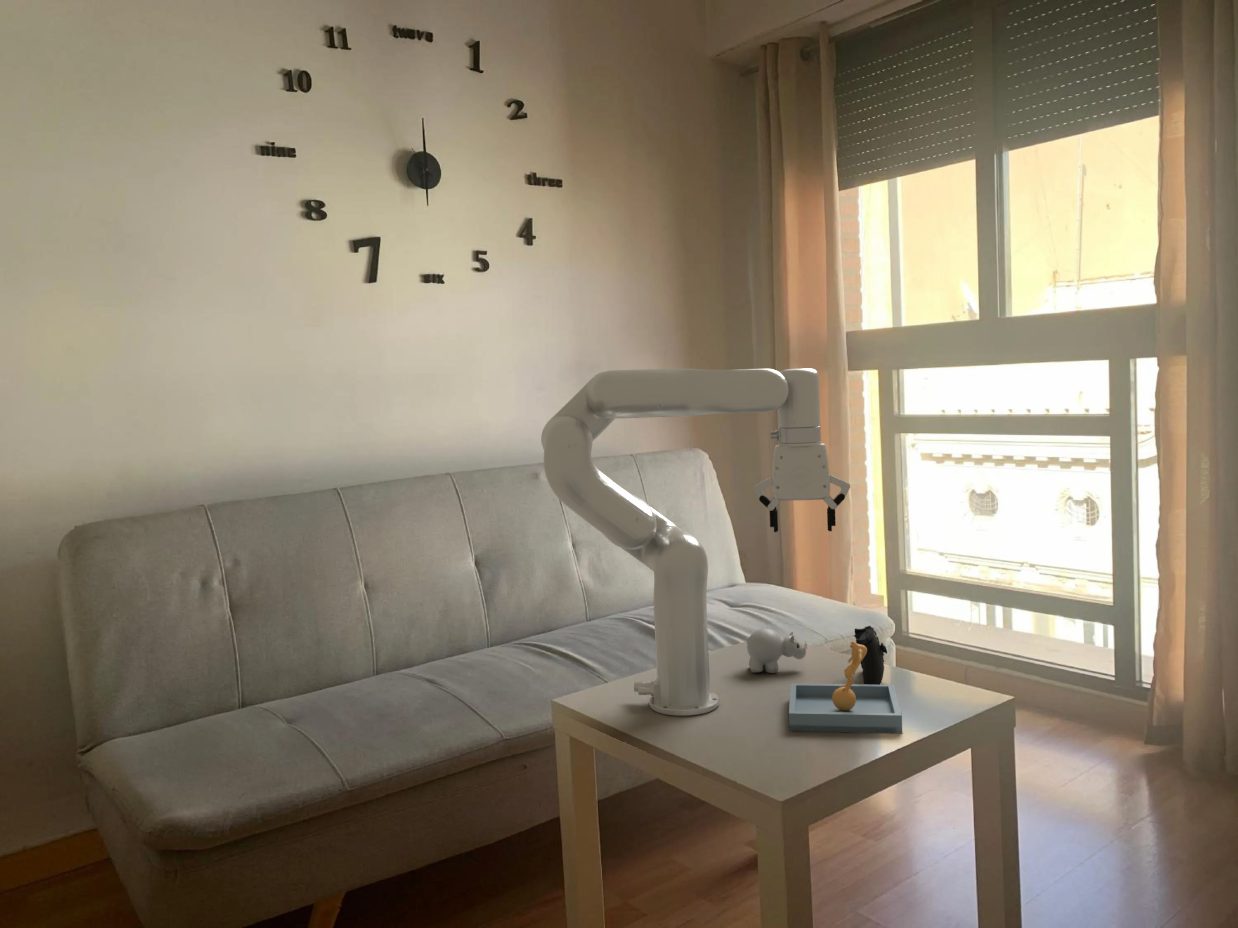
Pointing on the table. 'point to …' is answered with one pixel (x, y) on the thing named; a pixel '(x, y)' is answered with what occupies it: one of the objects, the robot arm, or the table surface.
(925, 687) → the table surface
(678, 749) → the table surface
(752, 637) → the chubby cartoon animal
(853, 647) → the figurine
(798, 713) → the tray
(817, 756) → the table surface
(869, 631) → the black elongated piece
